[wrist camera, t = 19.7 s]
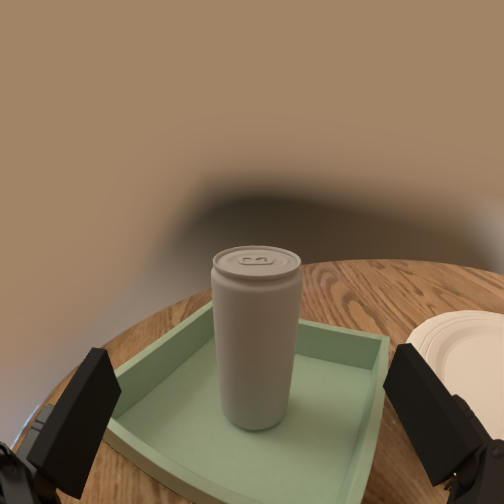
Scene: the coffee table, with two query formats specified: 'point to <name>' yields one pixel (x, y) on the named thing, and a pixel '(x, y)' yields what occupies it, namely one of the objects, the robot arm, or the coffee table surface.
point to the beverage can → (255, 331)
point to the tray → (245, 440)
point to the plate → (468, 360)
